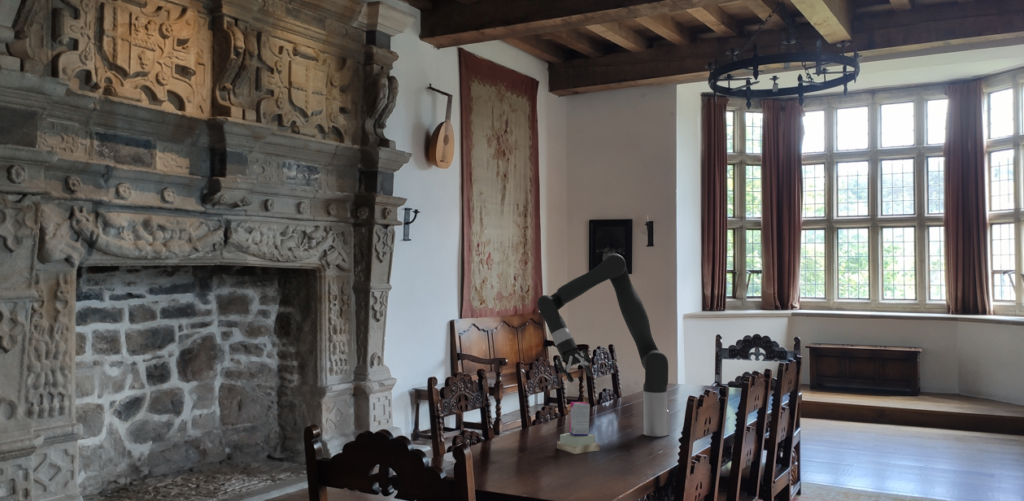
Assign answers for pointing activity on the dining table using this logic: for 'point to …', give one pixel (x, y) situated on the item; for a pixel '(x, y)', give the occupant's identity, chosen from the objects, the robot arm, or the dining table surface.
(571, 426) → the supplement box
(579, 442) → the sage top block
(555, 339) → the robot arm
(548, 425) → the dining table surface
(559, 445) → the birch base block
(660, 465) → the dining table surface
